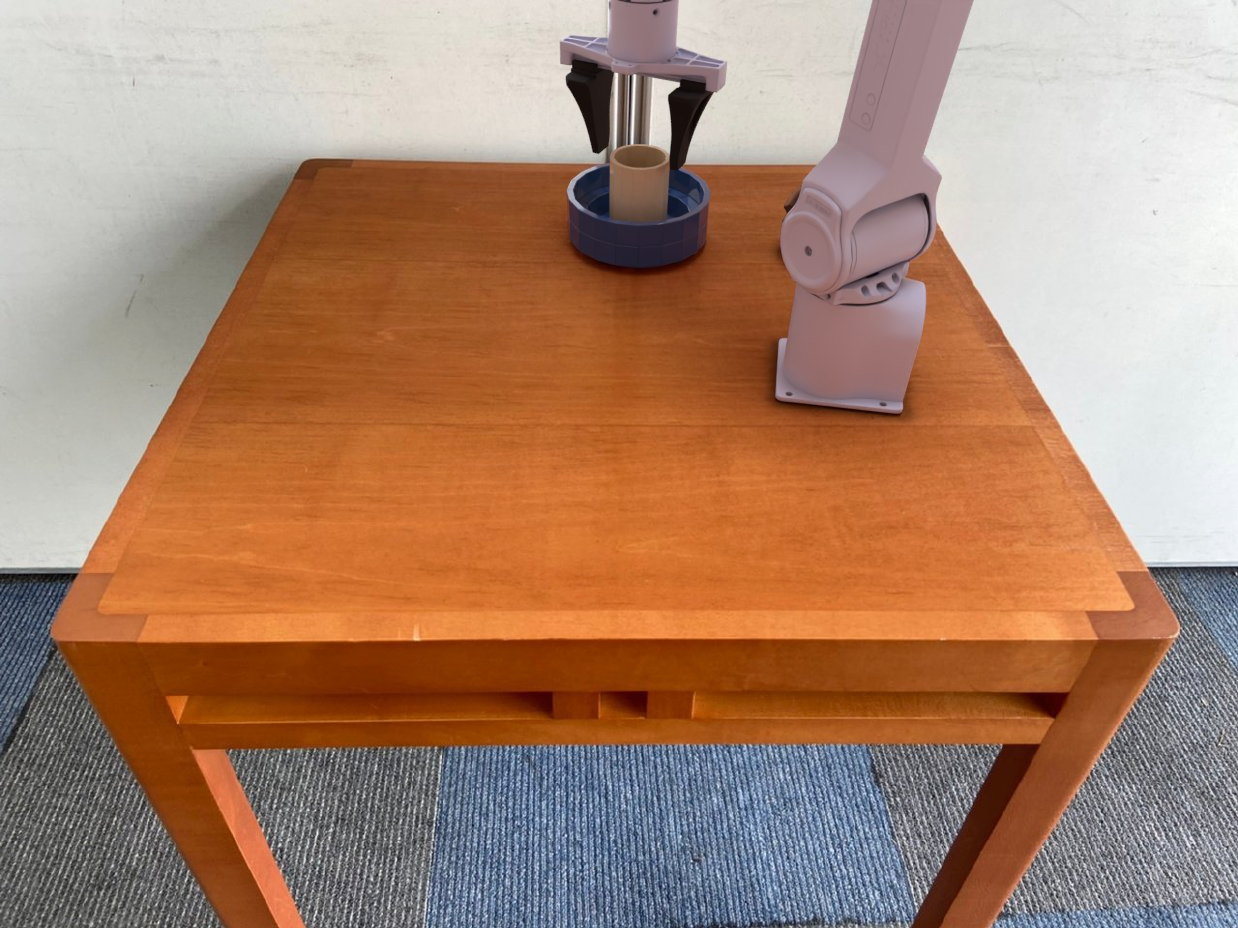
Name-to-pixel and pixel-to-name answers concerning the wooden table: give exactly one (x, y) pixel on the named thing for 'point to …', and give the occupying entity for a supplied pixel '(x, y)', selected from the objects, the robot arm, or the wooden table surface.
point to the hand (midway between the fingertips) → (638, 157)
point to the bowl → (637, 239)
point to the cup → (639, 183)
